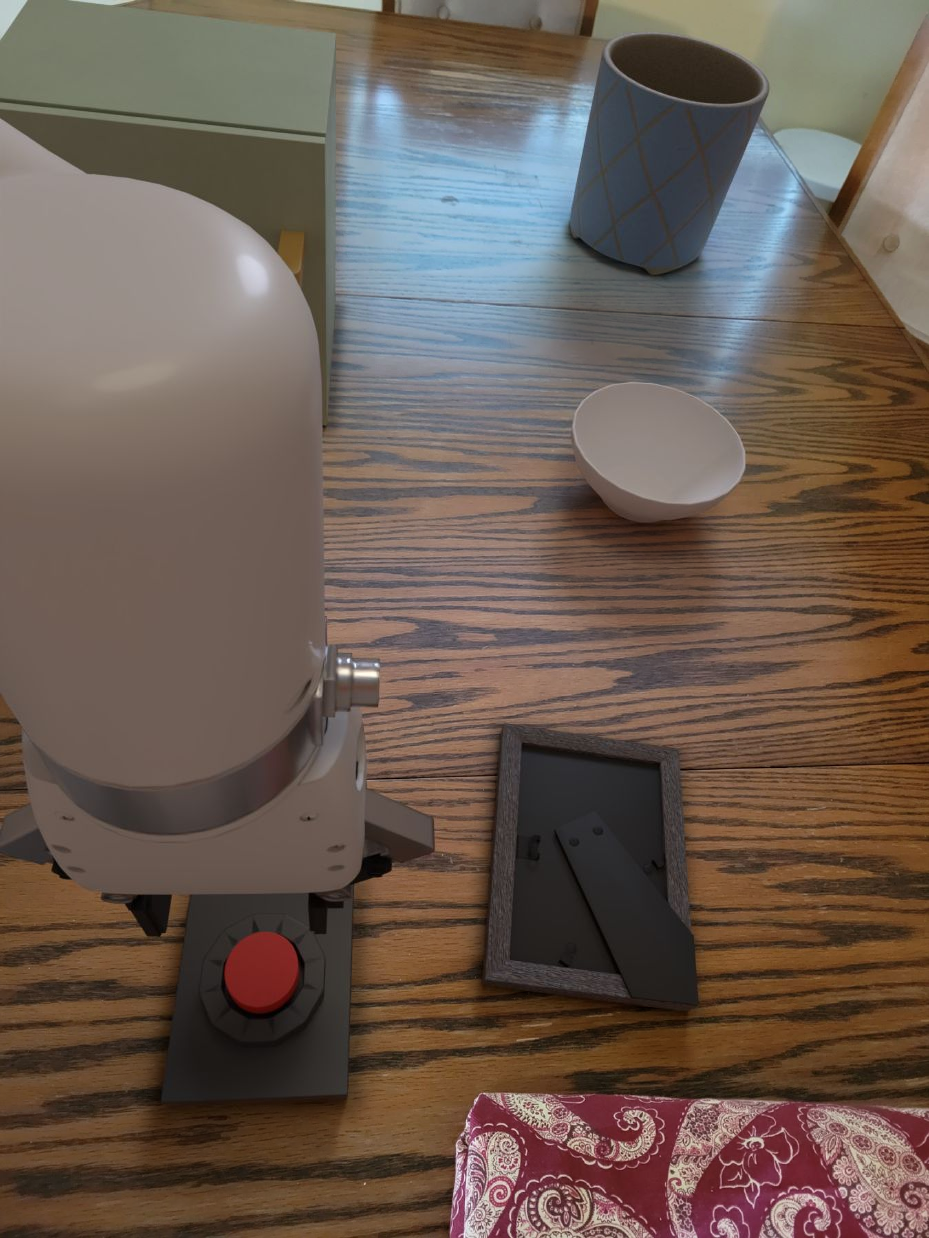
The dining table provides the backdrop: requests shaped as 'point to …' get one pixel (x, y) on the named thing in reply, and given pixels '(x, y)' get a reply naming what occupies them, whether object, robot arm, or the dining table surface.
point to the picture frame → (589, 871)
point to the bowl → (655, 451)
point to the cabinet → (179, 77)
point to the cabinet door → (210, 179)
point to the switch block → (260, 1043)
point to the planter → (663, 146)
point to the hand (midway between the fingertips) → (242, 898)
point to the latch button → (262, 972)
